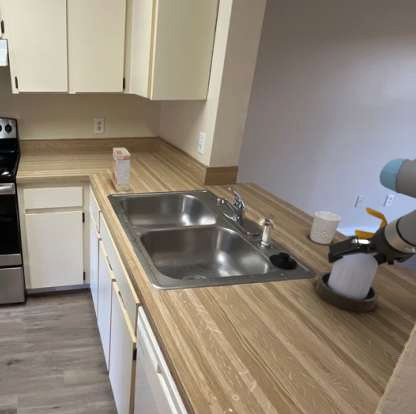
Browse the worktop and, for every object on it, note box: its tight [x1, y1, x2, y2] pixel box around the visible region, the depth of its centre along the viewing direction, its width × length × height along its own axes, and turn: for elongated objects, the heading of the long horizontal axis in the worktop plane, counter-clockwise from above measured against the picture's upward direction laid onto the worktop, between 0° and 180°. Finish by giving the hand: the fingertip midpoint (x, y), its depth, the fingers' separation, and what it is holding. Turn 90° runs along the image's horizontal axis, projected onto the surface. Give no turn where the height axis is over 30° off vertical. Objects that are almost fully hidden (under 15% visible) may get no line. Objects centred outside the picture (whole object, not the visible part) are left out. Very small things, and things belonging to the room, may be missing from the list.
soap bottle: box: [328, 206, 388, 299], centre depth 88 cm, size 9×9×25 cm
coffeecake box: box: [112, 147, 131, 192], centre depth 175 cm, size 15×7×20 cm, turn 6°
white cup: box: [309, 210, 342, 245], centre depth 122 cm, size 8×8×10 cm
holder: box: [315, 271, 379, 313], centre depth 93 cm, size 14×14×4 cm
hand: (349, 260), depth 93 cm, fingers closed on soap bottle, 9 cm apart
